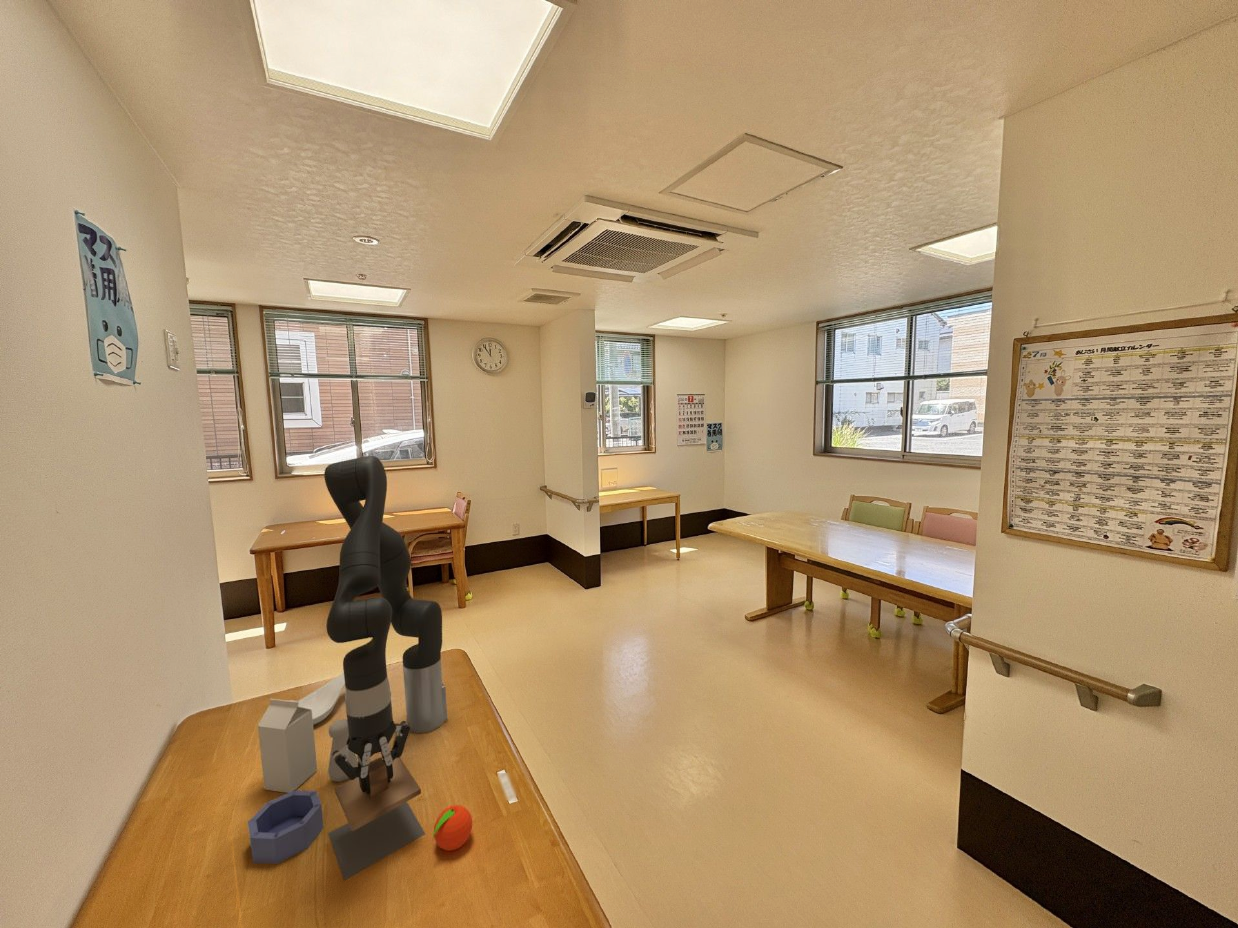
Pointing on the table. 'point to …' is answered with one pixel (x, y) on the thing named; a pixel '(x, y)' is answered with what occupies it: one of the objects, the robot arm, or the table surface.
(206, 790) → the table surface
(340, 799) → the lid
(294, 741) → the milk carton
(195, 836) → the table surface
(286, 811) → the bowl
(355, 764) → the salt shaker
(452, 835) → the clementine
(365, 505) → the robot arm
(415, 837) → the mat
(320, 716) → the spoon rest
